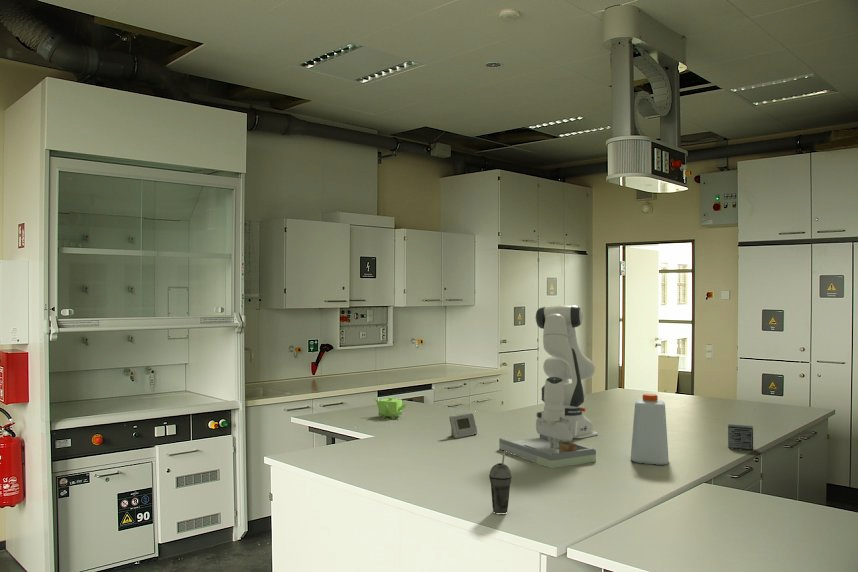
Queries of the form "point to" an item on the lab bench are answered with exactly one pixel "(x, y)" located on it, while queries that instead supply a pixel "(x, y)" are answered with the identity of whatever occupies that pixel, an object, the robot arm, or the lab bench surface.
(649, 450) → the plastic bottle
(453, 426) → the digital clock
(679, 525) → the lab bench surface
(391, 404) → the kettle
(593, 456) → the box
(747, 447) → the small box
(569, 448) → the walnut block
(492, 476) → the beverage cup
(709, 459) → the lab bench surface
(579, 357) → the robot arm
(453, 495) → the lab bench surface
